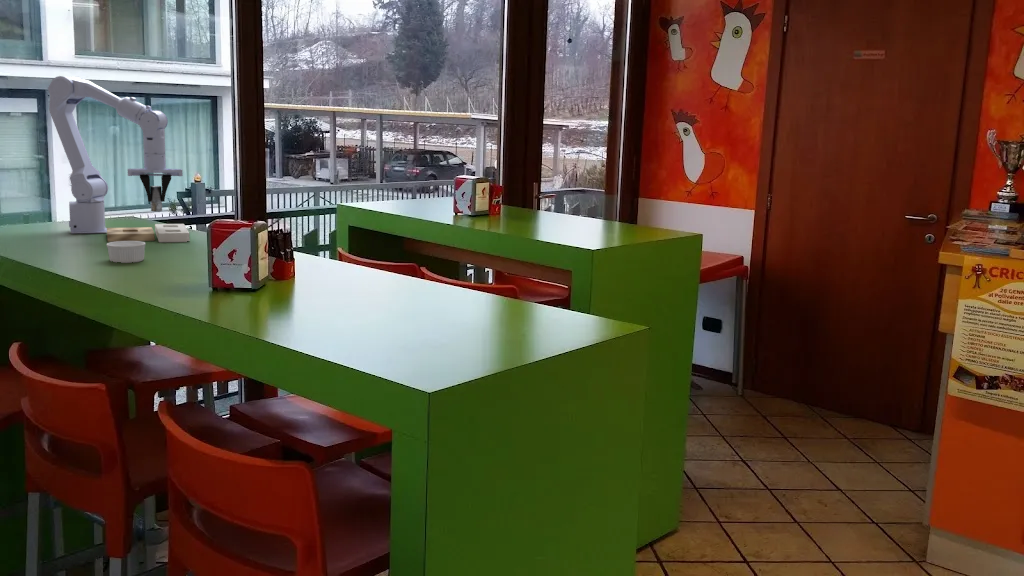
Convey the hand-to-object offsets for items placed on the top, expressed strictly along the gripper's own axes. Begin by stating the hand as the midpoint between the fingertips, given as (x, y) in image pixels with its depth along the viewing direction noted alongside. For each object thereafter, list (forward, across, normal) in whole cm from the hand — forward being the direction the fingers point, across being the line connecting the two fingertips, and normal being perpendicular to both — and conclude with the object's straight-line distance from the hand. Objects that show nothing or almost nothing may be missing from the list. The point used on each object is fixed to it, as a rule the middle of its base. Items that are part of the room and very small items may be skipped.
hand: (156, 201), depth 260 cm
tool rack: (+10, +4, -3) cm, 11 cm away
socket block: (+10, -7, -3) cm, 13 cm away
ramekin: (+10, -9, -38) cm, 40 cm away
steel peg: (+3, 0, 0) cm, 3 cm away
